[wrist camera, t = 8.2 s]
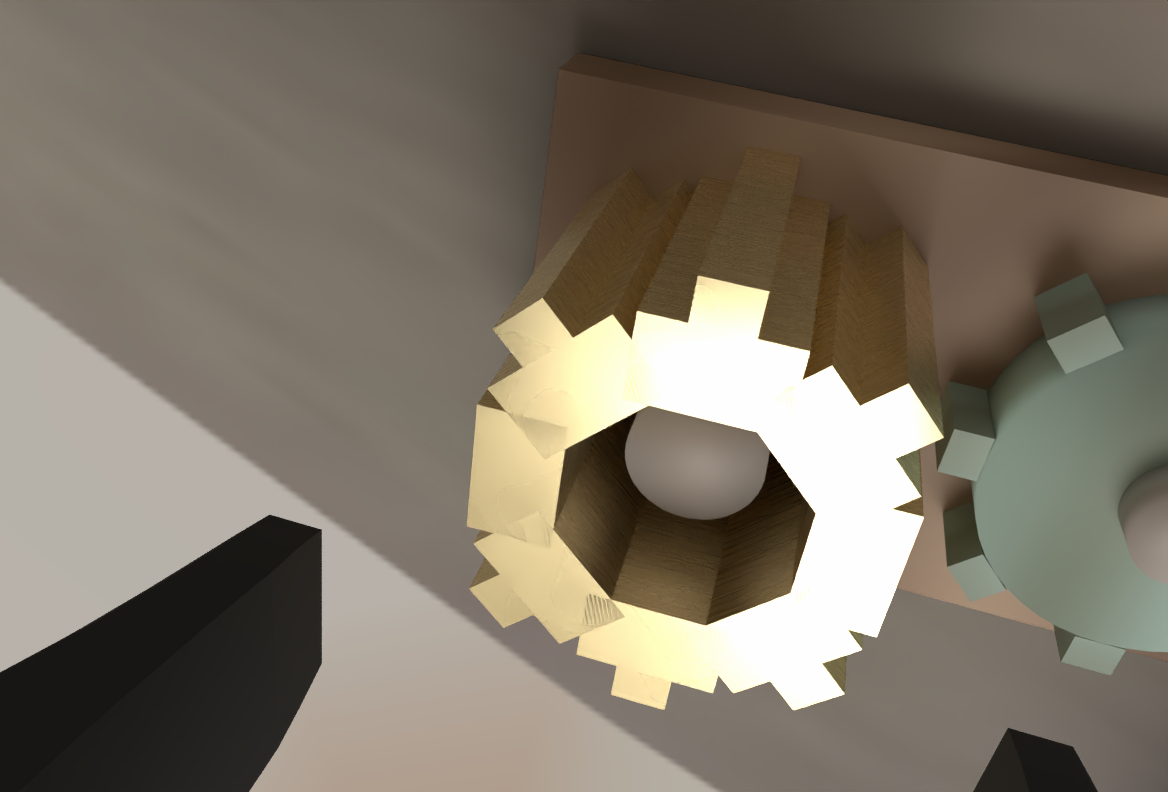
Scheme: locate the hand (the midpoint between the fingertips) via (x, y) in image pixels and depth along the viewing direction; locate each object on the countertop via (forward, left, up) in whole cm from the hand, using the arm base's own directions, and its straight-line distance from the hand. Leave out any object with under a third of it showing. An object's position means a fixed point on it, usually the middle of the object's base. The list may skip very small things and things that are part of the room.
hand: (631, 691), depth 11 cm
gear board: (-3, 0, -9) cm, 10 cm away
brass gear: (0, 0, -8) cm, 8 cm away
